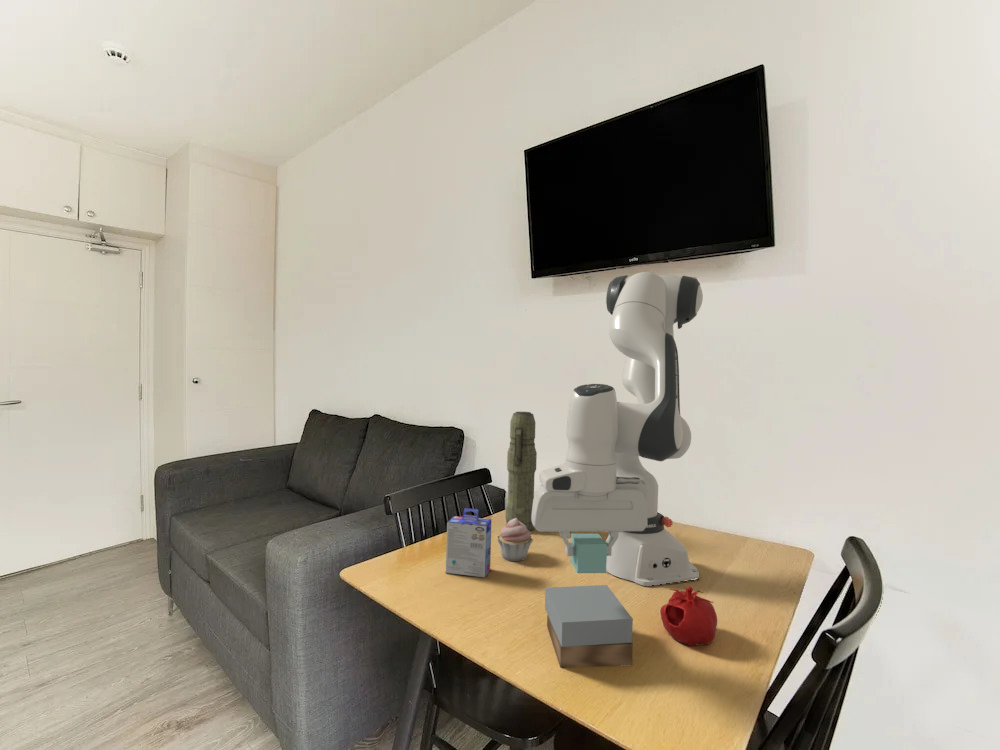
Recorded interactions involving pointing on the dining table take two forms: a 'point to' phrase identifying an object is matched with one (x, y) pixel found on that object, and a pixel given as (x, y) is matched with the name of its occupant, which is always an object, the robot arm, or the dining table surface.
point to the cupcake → (514, 541)
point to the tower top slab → (587, 616)
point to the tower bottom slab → (590, 653)
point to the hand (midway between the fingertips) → (587, 554)
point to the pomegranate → (689, 617)
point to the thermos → (521, 468)
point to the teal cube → (589, 553)
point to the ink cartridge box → (468, 545)
